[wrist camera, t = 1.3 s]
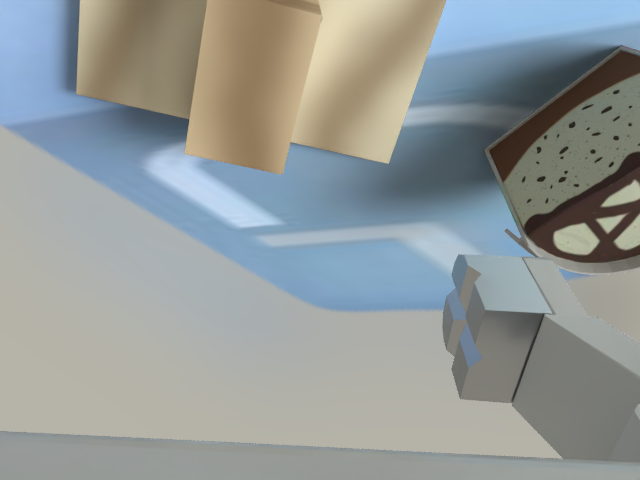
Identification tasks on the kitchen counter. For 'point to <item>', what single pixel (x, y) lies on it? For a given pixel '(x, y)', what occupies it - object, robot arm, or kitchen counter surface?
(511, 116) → the kitchen counter surface
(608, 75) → the food container
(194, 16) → the board
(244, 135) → the block
